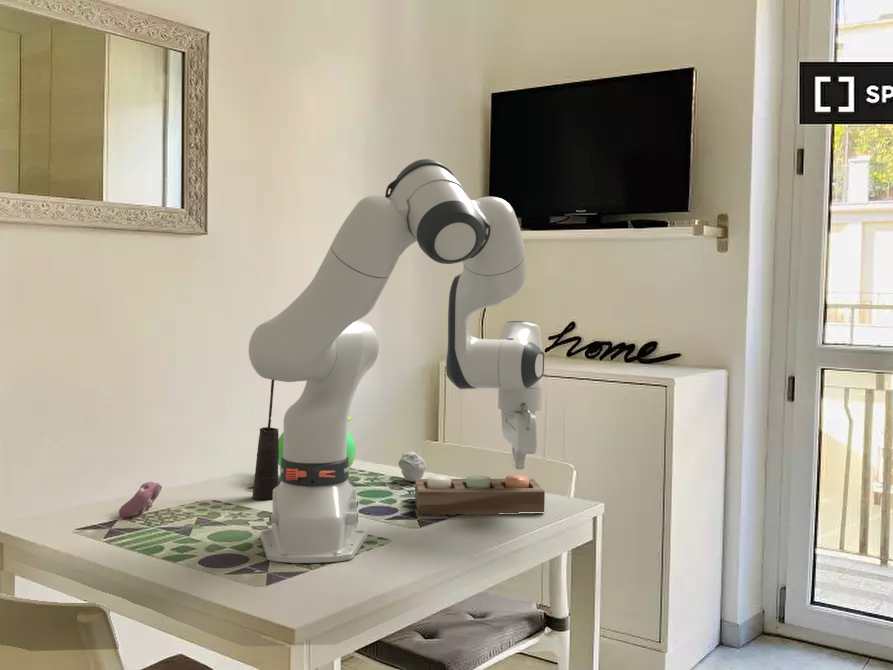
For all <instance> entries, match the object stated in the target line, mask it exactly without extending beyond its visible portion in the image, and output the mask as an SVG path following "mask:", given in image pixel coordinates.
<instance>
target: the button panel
mask: <svg viewBox="0 0 893 670" xmlns="http://www.w3.org/2000/svg"><path fill="white" fill-rule="evenodd" d="M414 484H415V485H414V503H415V507H416V510H417V515H418V516H423V515H422V514H432V515H431V516H434V515H435V514H436V515H435V516H437V515H439V516H441V515H444V516H445V515H446V514H449V515H450V516H451V514H453V516H455V514H476V515H500V514H499V513H519V512H544V513H545V503H546V502H545V500H546V499H545V493H546V491H545V490H544V489H543V488H542V487H541V486H540V485H539V483H538V482H537V481H536V479H534V478H529V488H505V478H490V488H474V489H466V485H467V478H451V489H427V478H421V479H415V482H414ZM440 514H441V515H440ZM449 515H448V516H449ZM446 516H447V515H446Z"/></svg>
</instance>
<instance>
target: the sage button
mask: <svg viewBox="0 0 893 670" xmlns="http://www.w3.org/2000/svg"><path fill="white" fill-rule="evenodd" d="M466 479H467V485H466V489H474V488H490V479H491V477H490V476H487V475H477V474H476V475H468V476H467V477H466Z"/></svg>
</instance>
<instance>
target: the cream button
mask: <svg viewBox="0 0 893 670" xmlns="http://www.w3.org/2000/svg"><path fill="white" fill-rule="evenodd" d="M426 479H427V489H451V479H452V477H450V476H448V475H429V476H427V478H426Z"/></svg>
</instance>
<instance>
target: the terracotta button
mask: <svg viewBox="0 0 893 670" xmlns="http://www.w3.org/2000/svg"><path fill="white" fill-rule="evenodd" d="M504 479H505V488H529V479H530V478H529V476H526V475H519V474H515V475H514V474H513V475H507V476H505V478H504Z"/></svg>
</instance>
